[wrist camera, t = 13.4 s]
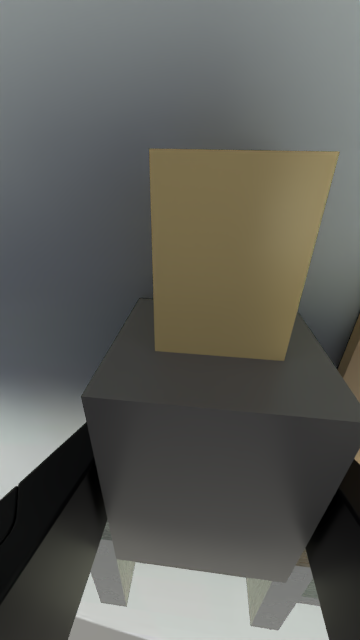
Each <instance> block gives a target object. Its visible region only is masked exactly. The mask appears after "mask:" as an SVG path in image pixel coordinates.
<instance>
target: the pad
mask: <svg viewBox="0 0 360 640" xmlns="http://www.w3.org/2000/svg"><path fill="white" fill-rule="evenodd" d="M338 372H339V373H340V375H341V376H342V378H343V379H344V381H345V382H346V384H347V385H348V387H349V388H350V389H351V391H352V392H353V394H354V395H355V397H356V398H357V400H358V401H359V403H360V314H359V317H358V319H357V322H356V324H355V327H354V329H353V332H352V334H351V337H350V339H349V342H348V344H347V347H346V349H345V352H344V354H343V357H342V360H341V362H340V365H339V367H338ZM354 459H355V460H356V461H357V462H358V463H359V464H360V449H359V451H358V453H357V455H356V456H355V458H354Z"/></svg>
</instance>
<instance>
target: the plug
mask: <svg viewBox="0 0 360 640" xmlns="http://www.w3.org/2000/svg"><path fill="white" fill-rule="evenodd" d="M339 153H340V152H332V151H270V150H207V149H149V163H150V197H151V232H152V266H153V299H144V298H139V300H138V302H137V303H136V305H135V307H134V308H133V310H132V312H131V313H130V315H129V317H128V318H127V320H126V322H125V323H124V325H123V327H122V328H121V330H120V332H119V334H118V335H117V337H116V339H115V340H114V342H113V344H112V345H111V347H110V349H109V350H108V352H107V354H106V355H105V357H104V359H103V360H102V362H101V364H100V366H99V367H98V369H97V371H96V372H95V374H94V376H93V377H92V379H91V381H90V382H89V384H88V386H87V387H86V389H85V391H84V392H83V394H82V396H81V398H82V403H83V408H84V412H85V417H86V421H87V426H88V431H89V435H90V440H91V445H92V449H93V454H94V458H95V463H96V468H97V472H98V477H99V482H100V486H101V491H102V495H103V500H104V505H105V509H106V514H107V519H108V523H109V528H110V532H111V537H112V542H113V546H114V551H115V556H116V559H118V560H126V561H133V562H140V563H147V564H154V565H161V566H168V567H175V568H182V569H189V570H197V571H204V572H211V573H218V574H225V575H232V576H239V577H246V578H253V579H260V580H268V581H275V582H282V583H286V582H287V580H288V578H289V576H290V575H291V573H292V571H293V569H294V567H295V566H296V564H297V562H298V560H299V558H300V556H301V555H302V553H303V551H304V549H305V547H306V546H307V544H308V542H309V540H310V538H311V536H312V535H313V533H314V531H315V529H316V527H317V526H318V524H319V522H320V520H321V518H322V516H323V515H324V513H325V511H326V509H327V507H328V505H329V504H330V502H331V500H332V498H333V496H334V495H335V493H336V491H337V489H338V487H339V485H340V484H341V482H342V480H343V478H344V476H345V475H346V473H347V471H348V469H349V467H350V465H351V464H352V462H353V460H354V458H355V456H356V455H357V453H358V451H359V449H360V403H359V401H358V400H357V398H356V397H355V395H354V394H353V392H352V391H351V389H350V388H349V387H348V385H347V384H346V382H345V381H344V379H343V378H342V376H341V375H340V373H339V372H338V370H337V369H336V367H335V366H334V364H333V363H332V361H331V360H330V358H329V357H328V356H327V354H326V353H325V351H324V350H323V348H322V347H321V345H320V344H319V342H318V341H317V339H316V338H315V336H314V335H313V333H312V332H311V330H310V329H309V327H308V326H307V325H306V323H305V322H304V320H303V319H302V317H301V316H300V314H299V313H298V311H297V310H298V307H299V303H300V299H301V295H302V292H303V288H304V284H305V280H306V277H307V273H308V269H309V265H310V262H311V258H312V254H313V250H314V246H315V243H316V239H317V235H318V231H319V228H320V224H321V220H322V216H323V213H324V209H325V205H326V201H327V198H328V194H329V190H330V186H331V183H332V179H333V175H334V171H335V168H336V164H337V160H338V156H339Z"/></svg>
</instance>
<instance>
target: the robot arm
mask: <svg viewBox="0 0 360 640" xmlns="http://www.w3.org/2000/svg"><path fill="white" fill-rule="evenodd" d="M107 520H108V519H107V514H106V509H105V505H104V500H103V495H102V491H101V486H100V482H99V477H98V472H97V468H96V463H95V458H94V454H93V449H92V445H91V440H90V435H89V431H88V426H87V422H86V423H85V424H84V425H83V426H82V427H81V428H79V429H78V430H77V431H76V432H75V433H74V434H73V435H72V436H71V437H70V438H68V439H67V440H66V441H65V442H64V443H63V444H62V445H61V446H60V447H58V448H57V449H56V450H55V451H54V452H53V453H52V454H51V455H50V456H49V457H47V458H46V459H45V460H44V461H43V462H42V463H41V464H40V465H39V466H38V467H36V468H35V469H34V470H33V471H32V472H31V473H30V474H29V475H28V476H26V477H25V478H24V479H23V480H22V481H21V482H20V483H19V485H18V486H15V487H14V488H13V489H12V490H11V491H10V492H9V493H8V494H6V495H5V496H4V497H3V498H2V499H1V500H0V640H68V637H69V634H70V631H71V628H72V625H73V622H74V619H75V616H76V613H77V610H78V607H79V604H80V601H81V598H82V595H83V592H84V589H85V586H86V583H87V580H88V577H89V574H90V571H91V568H92V565H93V562H94V559H95V556H96V553H97V550H98V547H99V544H100V541H101V538H102V535H103V532H104V529H105V526H106V523H107ZM305 549H306V553H307V557H308V561H309V565H310V568H311V572H312V576H313V580H314V584H315V587H316V591H317V595H318V599H319V603H320V606H321V610H322V614H323V618H324V622H325V625H326V629H327V633H328V637H329V640H360V464H359V463H358V462H357V461H356V460H355V459H354V460H353V462H352V464H351V465H350V467H349V469H348V471H347V473H346V475H345V476H344V478H343V480H342V482H341V484H340V485H339V487H338V489H337V491H336V493H335V495H334V496H333V498H332V500H331V502H330V504H329V505H328V507H327V509H326V511H325V513H324V515H323V516H322V518H321V520H320V522H319V524H318V526H317V527H316V529H315V531H314V533H313V535H312V536H311V538H310V540H309V542H308V544H307V546H306V547H305Z"/></svg>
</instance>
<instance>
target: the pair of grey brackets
mask: <svg viewBox="0 0 360 640" xmlns="http://www.w3.org/2000/svg"><path fill="white" fill-rule="evenodd" d="M134 566H135V562H133V561H126V560H118V559H116V556H115V551H114V546H113V542H112V537H111V532H110V528H109V523H108V520H107V523H106V526H105V529H104V532H103V535H102V538H101V541H100V544H99V547H98V550H97V553H96V556H95V559H94V562H93V565H92V568H91V571H90V572H91V574H92V577H93V580H94V583H95V586H96V589H97V592H98V595H99V598H100V601H101V603H106V604H113V605H119V606H126V607H127V602H128V597H129V592H130V587H131V581H132V576H133V571H134ZM246 582H247V593H248V604H249V615H250V625H251V626H255V627H261V628H267V629H274V630H279V628H280V627H281V625H282V624H283V622H284V621H285V619H286V618H287V616H288V615H289V613H290V612H291V610H292V609H293V607H294V606H295V604H296V603H303V604H310V605H317V606H320V603H319V599H318V595H317V591H316V587H315V584H314V580H313V576H312V572H311V568H310V565H309V561H308V557H307V553H306V549H304V551H303V553H302V555H301V556H300V558H299V560H298V562H297V564H296V566H295V567H294V569H293V571H292V573H291V575H290V576H289V578H288V580H287V582H286V583H282V582H275V581H268V580H260V579H253V578H246Z"/></svg>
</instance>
